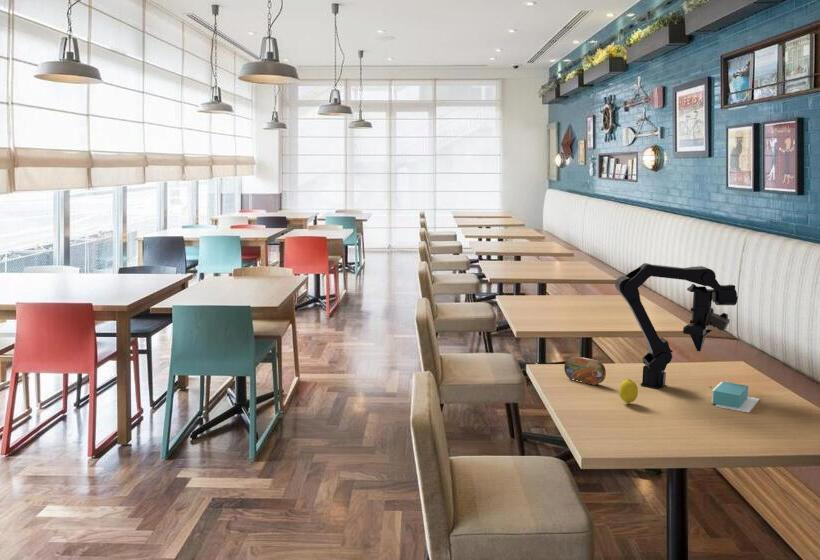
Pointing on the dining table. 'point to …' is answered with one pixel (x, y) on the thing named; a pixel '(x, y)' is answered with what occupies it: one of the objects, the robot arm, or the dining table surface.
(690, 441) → the dining table surface
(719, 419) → the dining table surface
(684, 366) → the dining table surface
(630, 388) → the lemon
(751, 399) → the mat
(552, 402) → the dining table surface
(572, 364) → the tin
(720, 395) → the teal block
